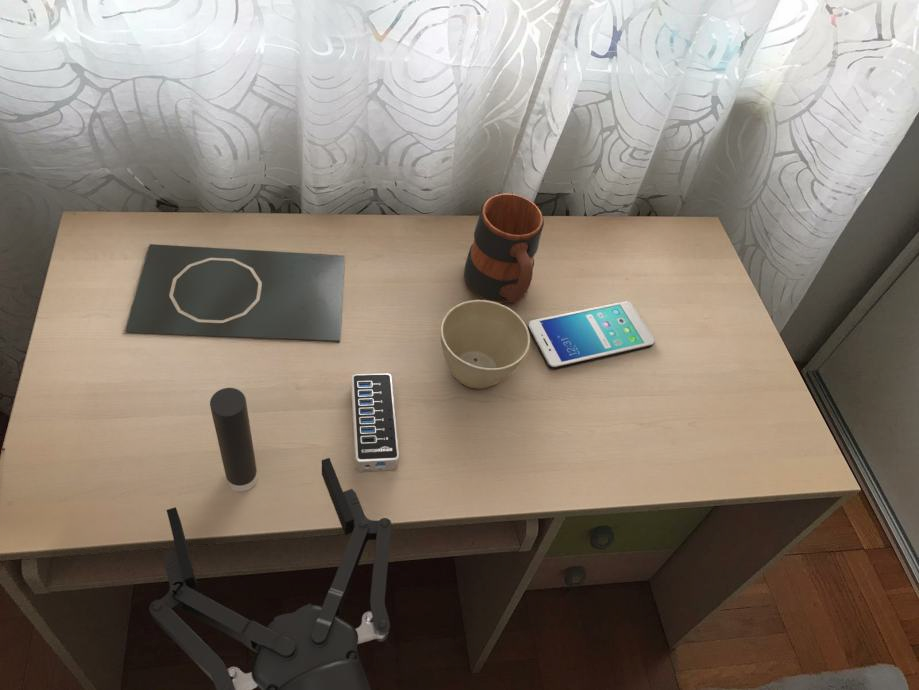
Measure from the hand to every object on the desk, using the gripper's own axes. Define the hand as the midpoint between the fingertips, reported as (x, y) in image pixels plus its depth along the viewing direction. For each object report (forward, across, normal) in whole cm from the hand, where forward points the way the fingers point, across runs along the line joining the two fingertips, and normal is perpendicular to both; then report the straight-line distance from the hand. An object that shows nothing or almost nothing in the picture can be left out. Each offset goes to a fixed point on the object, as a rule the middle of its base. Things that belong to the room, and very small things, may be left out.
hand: (252, 489), depth 67 cm
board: (+30, +6, -8) cm, 31 cm away
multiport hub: (+7, +14, -8) cm, 18 cm away
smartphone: (+10, +45, -8) cm, 46 cm away
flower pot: (+10, +28, -8) cm, 31 cm away
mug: (+20, +37, -8) cm, 43 cm away
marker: (+6, 0, -8) cm, 9 cm away
